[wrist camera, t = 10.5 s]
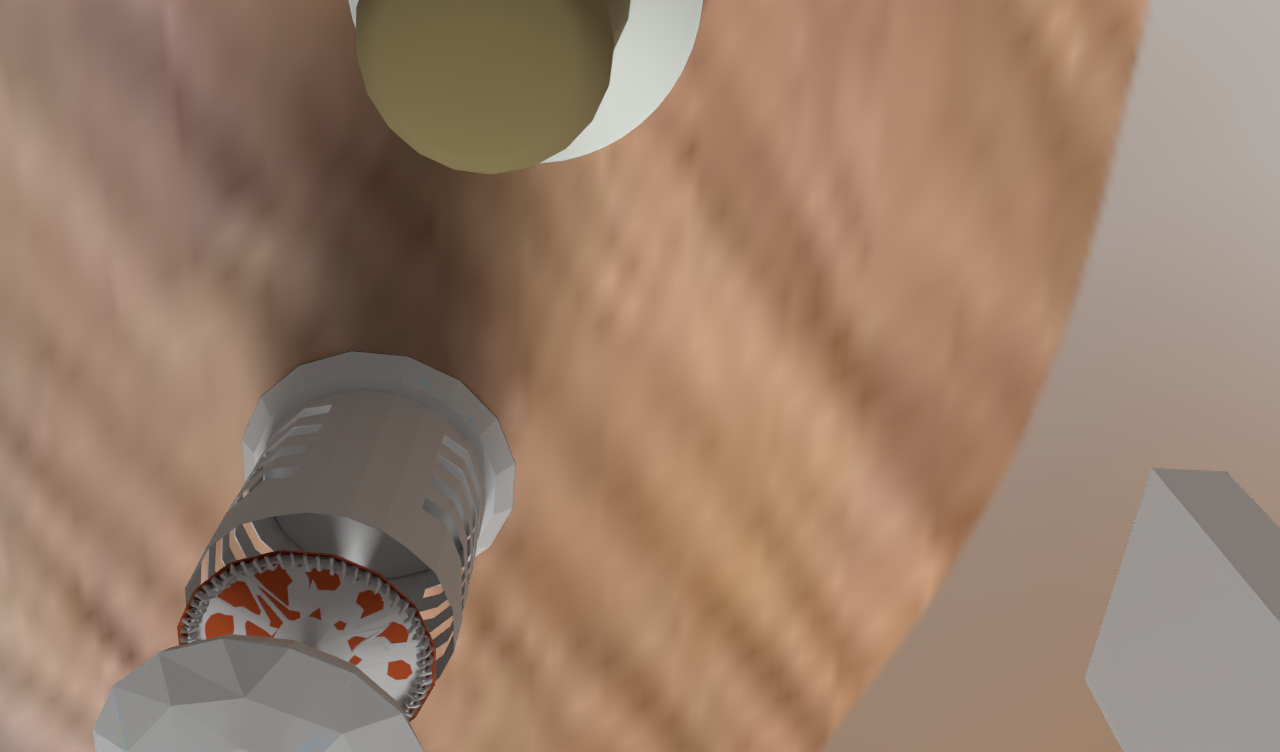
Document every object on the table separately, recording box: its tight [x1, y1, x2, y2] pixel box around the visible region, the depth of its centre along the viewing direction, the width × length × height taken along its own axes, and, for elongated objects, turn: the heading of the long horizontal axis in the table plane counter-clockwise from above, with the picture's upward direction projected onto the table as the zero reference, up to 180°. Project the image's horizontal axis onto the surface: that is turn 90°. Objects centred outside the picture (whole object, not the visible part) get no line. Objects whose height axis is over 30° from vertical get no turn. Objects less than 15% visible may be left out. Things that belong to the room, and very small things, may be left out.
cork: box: [355, 0, 631, 175], centre depth 25 cm, size 6×6×11 cm
